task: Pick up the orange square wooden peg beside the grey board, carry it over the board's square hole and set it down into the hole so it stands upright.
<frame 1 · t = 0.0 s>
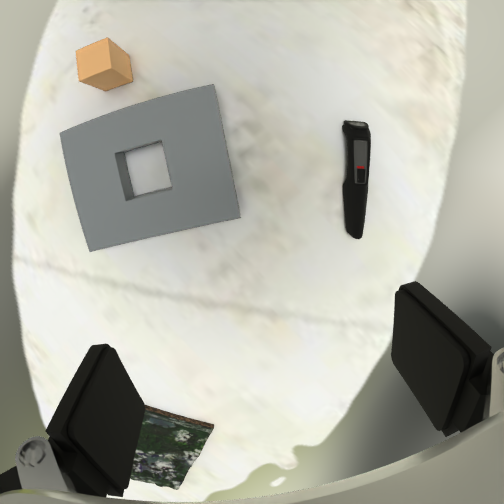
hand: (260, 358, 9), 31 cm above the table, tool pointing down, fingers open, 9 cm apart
peg: (117, 73, 32), on the table
socket board: (150, 168, 37), on the table
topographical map: (136, 444, 55), on the table
electric trimmer: (354, 175, 39), on the table
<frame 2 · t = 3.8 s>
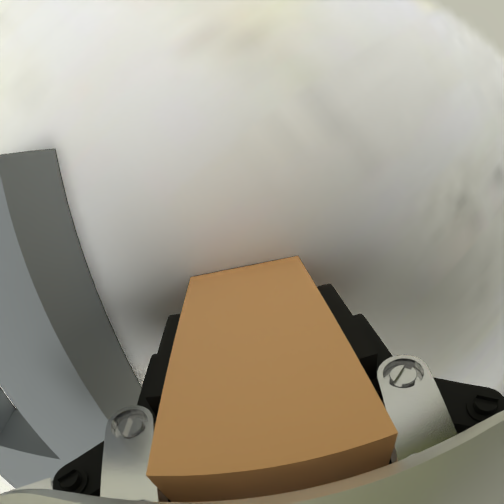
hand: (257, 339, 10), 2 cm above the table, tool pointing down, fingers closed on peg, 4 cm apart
peg: (253, 313, 12), on the table, touching gripper
socket board: (18, 375, 13), on the table
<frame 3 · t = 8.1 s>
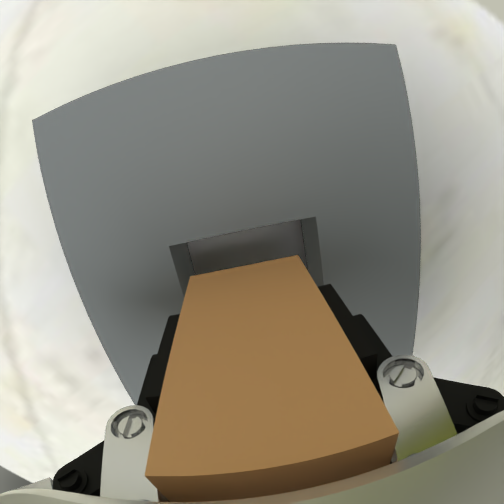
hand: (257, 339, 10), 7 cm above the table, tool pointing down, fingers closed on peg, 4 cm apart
peg: (253, 312, 12), point 5 cm above the table, touching gripper
socket board: (250, 267, 16), on the table
when the fingers open (4 cm above the table, at t = 8.8 s): peg drops 3 cm, resting in socket board.
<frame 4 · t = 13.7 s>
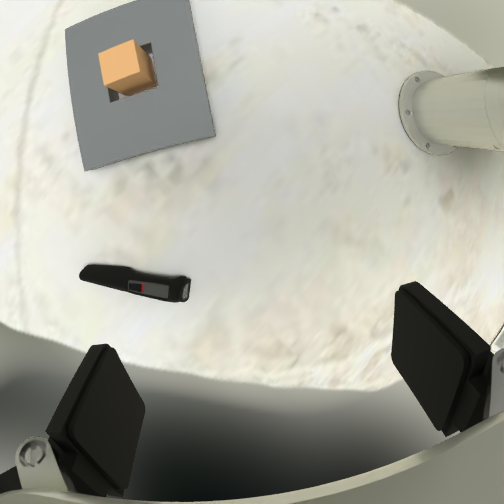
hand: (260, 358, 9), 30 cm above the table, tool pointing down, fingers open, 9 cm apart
peg: (139, 77, 32), resting in socket board
socket board: (138, 77, 32), on the table
electric trimmer: (138, 279, 41), on the table
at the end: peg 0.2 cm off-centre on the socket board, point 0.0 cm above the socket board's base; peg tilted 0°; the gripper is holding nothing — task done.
